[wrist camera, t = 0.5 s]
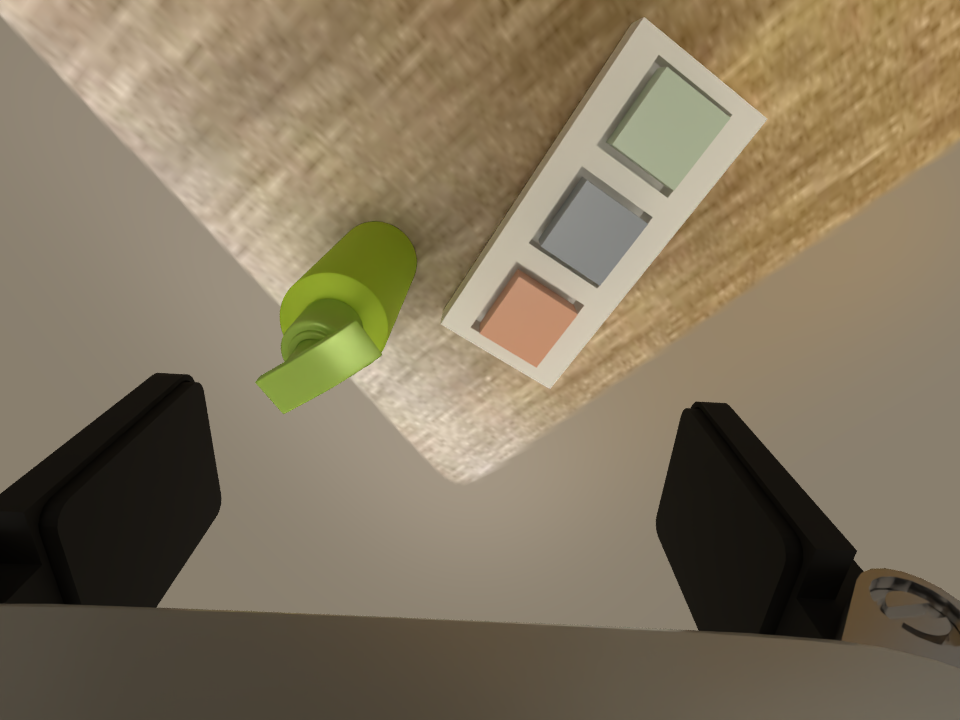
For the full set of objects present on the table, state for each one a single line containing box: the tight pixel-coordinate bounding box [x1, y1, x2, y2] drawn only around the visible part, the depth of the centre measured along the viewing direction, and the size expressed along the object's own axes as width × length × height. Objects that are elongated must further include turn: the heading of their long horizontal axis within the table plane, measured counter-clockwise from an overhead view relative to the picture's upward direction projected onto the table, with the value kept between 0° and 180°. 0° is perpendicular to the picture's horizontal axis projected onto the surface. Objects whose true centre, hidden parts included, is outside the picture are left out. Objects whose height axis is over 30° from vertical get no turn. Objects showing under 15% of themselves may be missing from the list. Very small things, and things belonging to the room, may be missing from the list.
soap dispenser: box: [256, 222, 417, 414], centre depth 32 cm, size 6×7×20 cm
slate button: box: [538, 177, 648, 285], centre depth 36 cm, size 5×5×2 cm
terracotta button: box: [480, 269, 578, 368], centre depth 39 cm, size 5×5×2 cm
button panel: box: [441, 17, 767, 389], centre depth 38 cm, size 23×10×3 cm, turn 147°
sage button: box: [606, 67, 730, 190], centre depth 33 cm, size 5×5×2 cm
